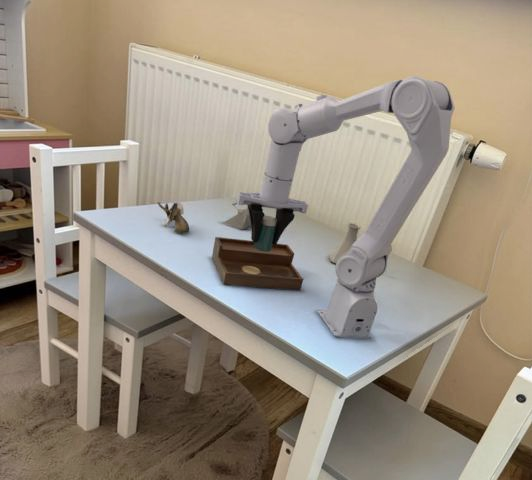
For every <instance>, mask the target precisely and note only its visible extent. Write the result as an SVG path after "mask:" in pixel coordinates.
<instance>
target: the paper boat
mask: <svg viewBox="0 0 532 480" xmlns="http://www.w3.org/2000/svg"><path fill="white" fill-rule="evenodd" d="M231 205H232V206H233V207H234V208H236V205H238V204H237V202H234V203H231ZM222 224H224V225H226V226H229V227H232V228H235V229H238V230H245V229H247V228H251V220H250V214H249V210H248V207H247V208H245V209H241V208H237V214H235V215H233V216H232V217H231V218H230V217H229V218H228V219H227V220H225V221H223V222H222Z"/></svg>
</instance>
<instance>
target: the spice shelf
mask: <svg viewBox="0 0 532 480" xmlns="http://www.w3.org/2000/svg"><path fill="white" fill-rule="evenodd" d="M294 256H295V252H294V251H293V250H292V248H291V247H290V246H289V244H284V243H277V244H276V245H274V244H272V248H271V251H268V252H265V251H260V250H257V249H256V248H254V242H253V241H252V240H249V239H248V240H247V239H238V238H230V237H222V236H221V237H220V236H215V237H214V243H213V249H212V254H211V260H212V262H213V265H214V267H215V269H216V271H217V274H218V276H219V278H220V281H221V283H222V285H223V286H235V287H247V288H248V287H250V288H261V289H274V290H275V289H276V290H286V291H287V290H288V291H289V290H290V291H301V289H302V285H303V281H304V278H303V277H302V275H301V274H300V273H299V272H298V270H297V268H296V267H295V266H294V265H293V260H294V258H295V257H294Z"/></svg>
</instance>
